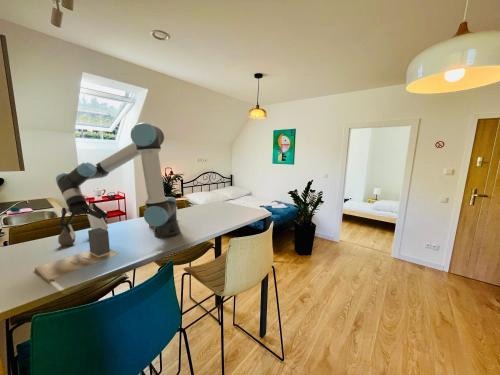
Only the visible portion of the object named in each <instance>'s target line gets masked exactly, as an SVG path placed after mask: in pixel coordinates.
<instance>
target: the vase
mask: <svg viewBox="0 0 500 375" xmlns="http://www.w3.org/2000/svg"><path fill="white" fill-rule="evenodd" d="M57 241H58V242H57V243H58V244H59V245H60V246H61V247H64V248H65V247H70V246H72V245H73V244H74V243H75V241H76V238H75V239H72V237H71V235H70V233H67V232H66V230H65V229H64V228H63V229H62V231H61V232H60V234H59V235H58V238H57Z"/></svg>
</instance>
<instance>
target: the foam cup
mask: <svg viewBox="0 0 500 375" xmlns="http://www.w3.org/2000/svg"><path fill="white" fill-rule="evenodd" d="M103 211H104V212H106V213H107V211H105V210H103ZM107 214H108V213H107ZM87 219H88V222H89V225H90V230H93V229H97V228H102V229H104V228H103V226H102V224H101V222H100V220H101V219H99V218H96V217H94V216H92V215H90V214H89V215H88V214H87ZM105 219H106V220H107V218H105Z"/></svg>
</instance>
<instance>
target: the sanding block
mask: <svg viewBox="0 0 500 375" xmlns="http://www.w3.org/2000/svg"><path fill="white" fill-rule="evenodd" d="M87 233H88V244H89V250H90V253H91V254H93V255H94V256H96V257H98V258H99V257H102V256H104V255H107V254H110V249H111V248H110V238H109V237H110V236H109V230H108V229H107V230H104V229H102V228H97V229H93V230H92V229H90V230H88V231H87Z"/></svg>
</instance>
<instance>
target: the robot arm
mask: <svg viewBox="0 0 500 375" xmlns="http://www.w3.org/2000/svg"><path fill="white" fill-rule="evenodd" d="M130 138H131V141H132V143H130V144H128V145H126V146H125V147H123V148H121V149H120V150H118V151H116V152H114V153H113V154H111V155H110V156H108V157H106V158H103V159H102V160H100V161H99V162H97V163H95V164H93V163H91V162H89V161H84V162H82V163H80V164H79V165H77V166H76V167H75V168H74V169H73V170H72V171H70V172H62V173H61V174H58V175H57V176H56V178H55V182H56V185H57V187H58V188H59V191H60V193H61V195H62V197H63V199H64V201H65V204H66V206H67V208H66V207H62V208H61V217H60V220H59V223H58V226H57V228H58V229H60V228H63V230H64V229H65V230H66V232H67V233H70V235H71V237H72V239H75V240H76V233H75V232H74V229H73V227H72V224H71V222H72V220H73V219H74V218H75V217H76V216H81V215H87V216H88V215H89V214H90V215H92V216H94V217H96V218H99V219H101V220H100V222H101V224H102V226H103V228H104V230H107V231H108V228H109V227H108V225H107V223H108V220H107V218H108V216H109V213H106V212H107V211H106V212H104V211H105V210H103V209H102V208H100V207H98V206H97V205H96V204H95V203H94V202H92V204H88V202H87V200H86V199H85V196H84V194H83V192H82V189H81V188H80V186H81V185H83V184H84V183H85V182H87V181H88V180H89V181H90V180H94V179H103V178H104V177H108V176H109V174H110V173H111V172H113V171H115V170H116V169H118V168H120V167H122V166H123V165H125V164H127V163H128V162H130V161H132V160H134V159H135V158H137V157H139V156H140V158H141V164H142V171H143V177H144V183H145V184H144V185H145V191H146V196H147V199H146V200H145V202H144V204H145V211H144V212H143V218H144V221H145V222H146V223H147V224H148V226H149V225H151V226H156V227H155V228H154V232H153V234H154V237H156V238H159V239H160V238H162V239H163V238H171V237H175V236H177V235H179V234H180V233H181V228H180V225H179V223H178V220H177V216H178V215H177V198H175V197H173V196H165V191H164V190H165V188H164V181H163V177H162V168H161V161H160V155H159V153H160V151H161V150H162V146H161V145H162V144H163V143H164V141H165V135H164V132H163V131H162V130H161V129H160V128H159V127H157V126H154V125H152V124H151V123H147V122H140V123H137V124H134V126H133V127H132V128H131V131H130ZM68 212H69V213H71V214H70V215H69V217H68V219H66V221H65V223H64V220H65V218H66V214H68ZM105 218H106V219H105Z"/></svg>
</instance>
